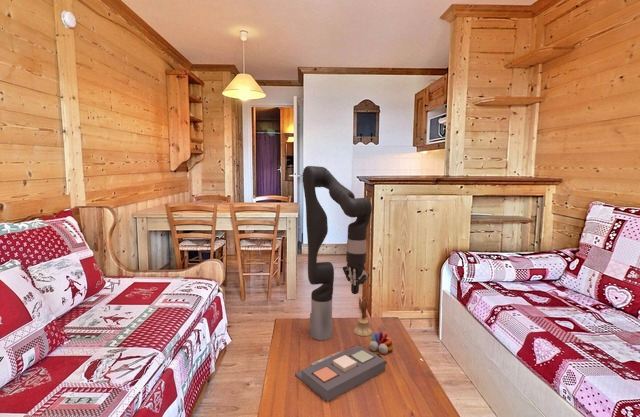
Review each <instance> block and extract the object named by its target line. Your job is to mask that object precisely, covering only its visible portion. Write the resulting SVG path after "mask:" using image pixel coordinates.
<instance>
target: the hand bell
mask: <svg viewBox="0 0 640 417" xmlns="http://www.w3.org/2000/svg"><path fill="white" fill-rule="evenodd" d="M360 305H361V307H360V308H361V318H359V319H358V323H357V324H356V328H354V330H353V333H354V334H355V335H357V336H360V337H369V336H372V334H373V330H372V329H371V328H370V325H369V320H368V319H367V318H366V317H367V316H366V311H367V309H368V302H367V298H366V297H363V298H362V301H361V304H360Z"/></svg>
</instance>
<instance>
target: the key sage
mask: <svg viewBox="0 0 640 417" xmlns="http://www.w3.org/2000/svg"><path fill="white" fill-rule="evenodd" d="M351 357H352V358H353V359H355V360H357V361H358V362H360V363H361V364H364V363H366V362H368V361H370V360H372V359H374V357H373V356H372V355H370V354H368V353H366V352H365V351H363V350H361V351H359V352H357V353H355V354H353V355H351Z"/></svg>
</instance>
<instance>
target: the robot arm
mask: <svg viewBox="0 0 640 417" xmlns="http://www.w3.org/2000/svg"><path fill="white" fill-rule="evenodd" d="M302 187H303V193H304V199H305V200H304V201H305V219H306V221H305V223H306V235H307V278H308V282H309V284H310V285H313V286H315V285H320V286H319V287H317V288H315V289H313V290H312V291H311V297H310V298H311V299H310V300H311V304H310V305H311V307H310V308H311V310H310V314H309V334H310V337H311V338H313V339H314V340H317V341H327V340H329V339H331V338H332V337H333V294H334V283H335V280H334V279H335V269H334V265H333V264H332V262H330V261H320V262H317V261H318V260H317V259H318V254H319V251H320V249H321V246H322V245H323V243H324V242H325V239H326V237H327V235H328V231H329V230H328V229H329V227H328V215H327V214H326V212H325V210H324V208H323V206H322V205H321V203H320V201H319V199H318V196H317V194H316V188H325V189H327V190H328V194H329V197H330V198H331V199H332V200H333V201H334V202H335V203H336V204H338V205H339V206H340V208H341V210H342V211H343V213H344V215H346V216H347V217H349V218H356V219H355V220H354V222H353V221H352V222H351V223H349V224H348V226H347V242H346V254H345V255H346V257H345V258H346V259H345V262H346V265H345V266H342V271H343V273H344V275H345V278H346V280H347V282H349V283H350V284H351V285H350V286H351V287H350V291H351V294H353V295H357V294H358V293H359V292H360V285H364V284H365V283H366V281H367V280H368V279H369V278H370V274H369V273H367V272H366V267H365V264H366V262H367V246H368V245H367V230H368V229H367V228H368V225H369V222H370V218H371V216H372V213H373V212H372V211H373V208H372V206H373V205H372V202H371V201H370V200H369V199H368V198H366V197H356V196H355V194H354V192H352V191H351V190H350V189H348V188H347V187H346V186H344V185H343V184H342V183H340V182H339V181H338V180H337V178H335V176H334V175H333V174H332V172H330V171H329V170H328V169H327V167H324V166H317V165H316V166H314V165H308V166H305V167H304V168H303V172H302Z"/></svg>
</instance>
